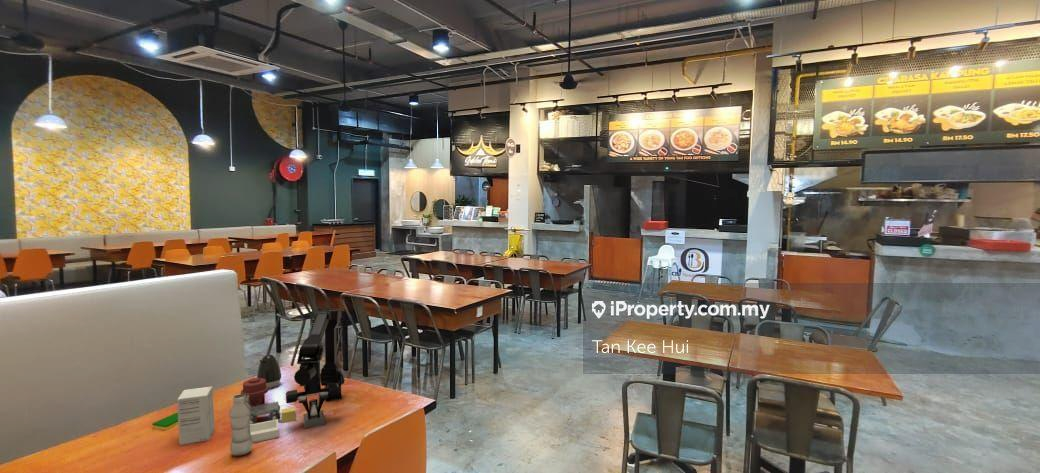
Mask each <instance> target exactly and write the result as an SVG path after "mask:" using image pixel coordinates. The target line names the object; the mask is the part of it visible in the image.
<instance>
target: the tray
mask: <svg viewBox="0 0 1040 473" xmlns="http://www.w3.org/2000/svg"><path fill="white" fill-rule="evenodd" d="M279 429H280V428H279V421H278V419H276V420H271V421H269V420H267V421H262V422H257V423H256V424H250V432H251V438H252V442H253V444H256V443H259V442H265V441H269V440H273V439H277V438H278V439H279V438H280V435H279V434H280V431H279Z"/></svg>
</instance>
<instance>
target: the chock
mask: <svg viewBox="0 0 1040 473" xmlns="http://www.w3.org/2000/svg"><path fill="white" fill-rule="evenodd" d="M280 411H281V412H280V420H281V423H282V424H284V423H290V422H293V421H297V415H296V414H297V413H296V406H292V407H287V408H280Z"/></svg>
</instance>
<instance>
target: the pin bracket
mask: <svg viewBox="0 0 1040 473" xmlns="http://www.w3.org/2000/svg"><path fill="white" fill-rule="evenodd" d="M302 416H303V425H304V427H303V428H304V430H307V429H311V428H316V427H317V428H318V427H321V426H325V422H326V421H325V418H326V417H325V415H324V410H323V409H321V410H320V413H319V414H318V417H316V418H311V419H310V416H308V413H307V412H306V413H303V414H302Z"/></svg>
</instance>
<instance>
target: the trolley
mask: <svg viewBox="0 0 1040 473" xmlns="http://www.w3.org/2000/svg"><path fill="white" fill-rule="evenodd" d="M246 403H248V404H249V395H247V397H246ZM280 411H281V405H280V404H279V401H274V402H270V403H269V402H268V403H265V404H262V405H257V406H251V419H250V424H256V423H258V419H257V417H258V416H259V417H260V416H263V415H268V414H269V415H268V421H271V420H276V419H278V422H280V420H281V412H280Z"/></svg>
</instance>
